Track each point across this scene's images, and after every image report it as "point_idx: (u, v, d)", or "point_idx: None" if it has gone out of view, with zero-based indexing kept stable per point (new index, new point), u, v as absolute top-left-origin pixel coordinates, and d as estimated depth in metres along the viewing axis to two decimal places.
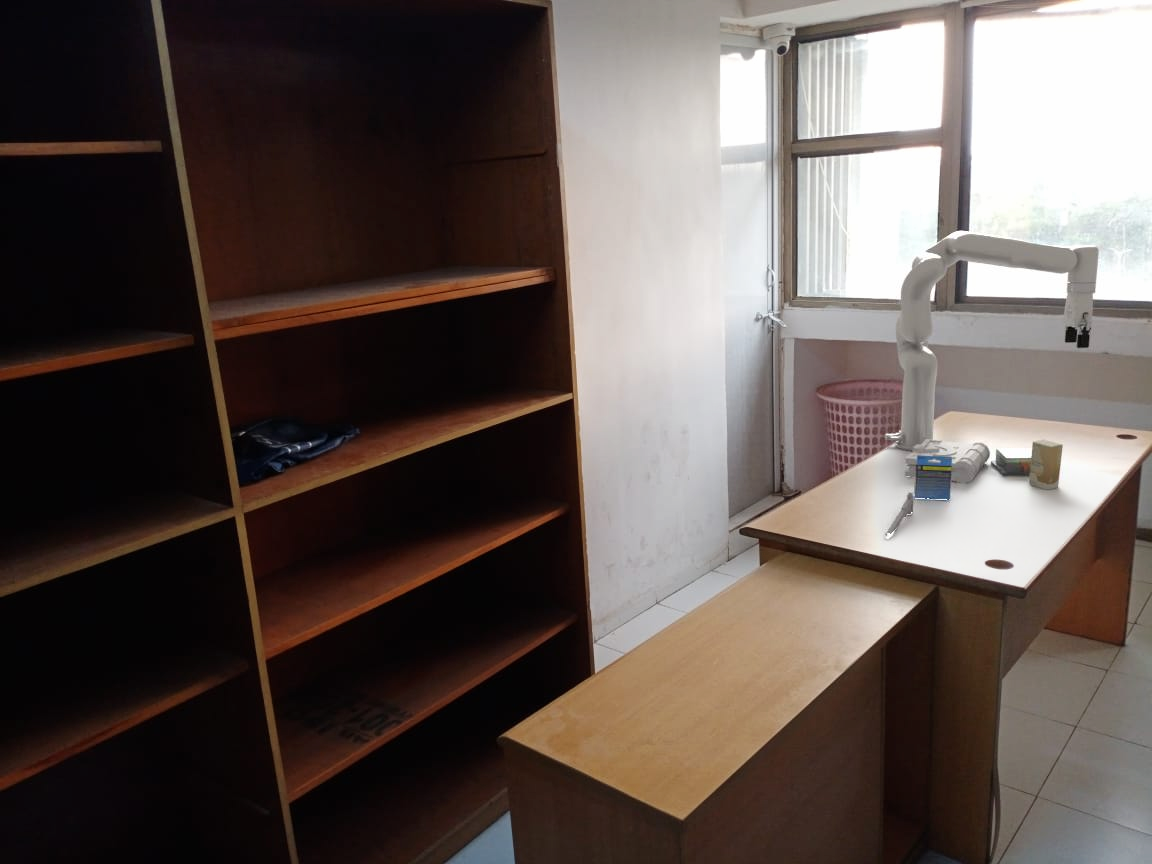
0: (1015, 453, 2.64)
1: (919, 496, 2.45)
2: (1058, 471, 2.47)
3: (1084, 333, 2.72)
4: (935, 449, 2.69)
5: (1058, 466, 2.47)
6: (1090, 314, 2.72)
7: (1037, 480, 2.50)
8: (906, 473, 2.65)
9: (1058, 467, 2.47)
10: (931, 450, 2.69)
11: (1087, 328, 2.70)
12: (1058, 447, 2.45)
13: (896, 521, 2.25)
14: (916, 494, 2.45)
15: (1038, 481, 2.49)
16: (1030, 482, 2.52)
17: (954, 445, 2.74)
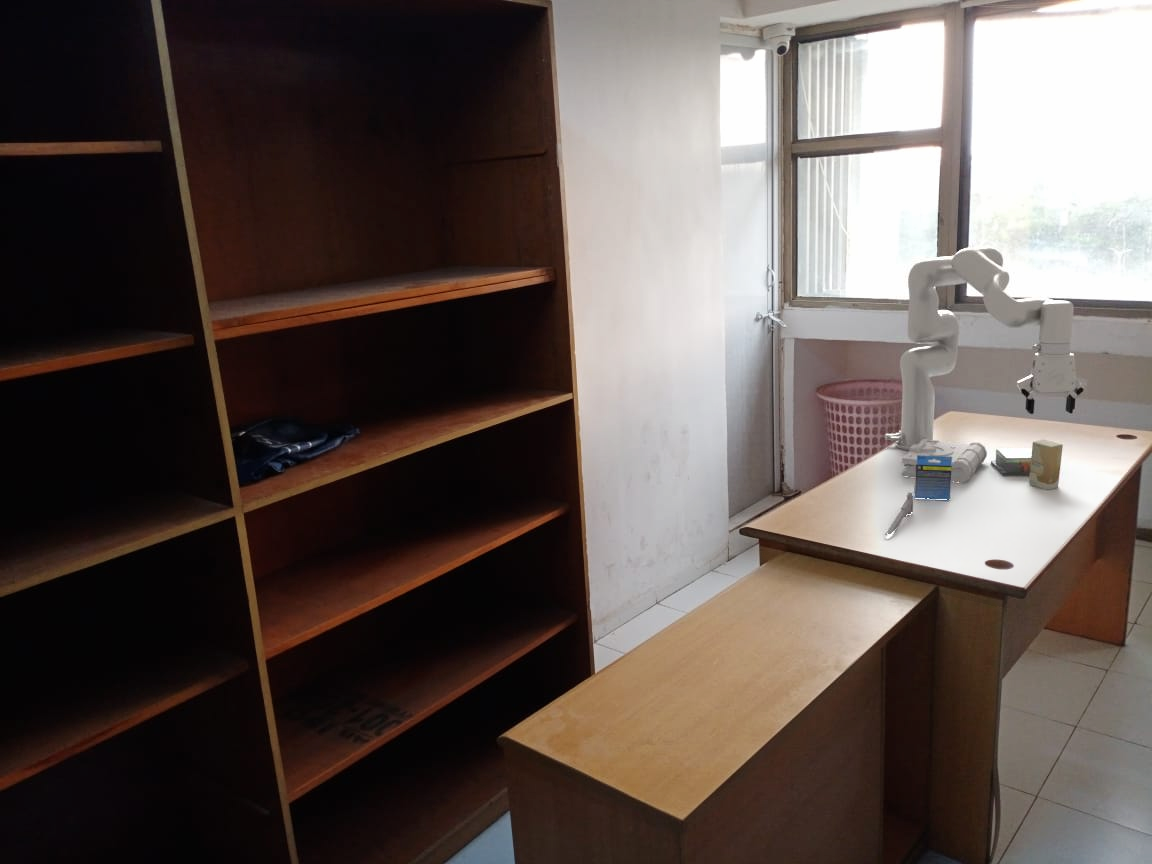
0: (1015, 453, 2.64)
1: (919, 496, 2.45)
2: (1058, 471, 2.47)
3: None
4: (932, 449, 2.69)
5: (1058, 466, 2.47)
6: None
7: (1037, 480, 2.50)
8: (903, 473, 2.65)
9: (1058, 467, 2.47)
10: (928, 450, 2.69)
11: None
12: (1058, 447, 2.45)
13: (896, 521, 2.25)
14: (916, 494, 2.45)
15: (1038, 481, 2.49)
16: (1030, 482, 2.52)
17: (951, 445, 2.74)
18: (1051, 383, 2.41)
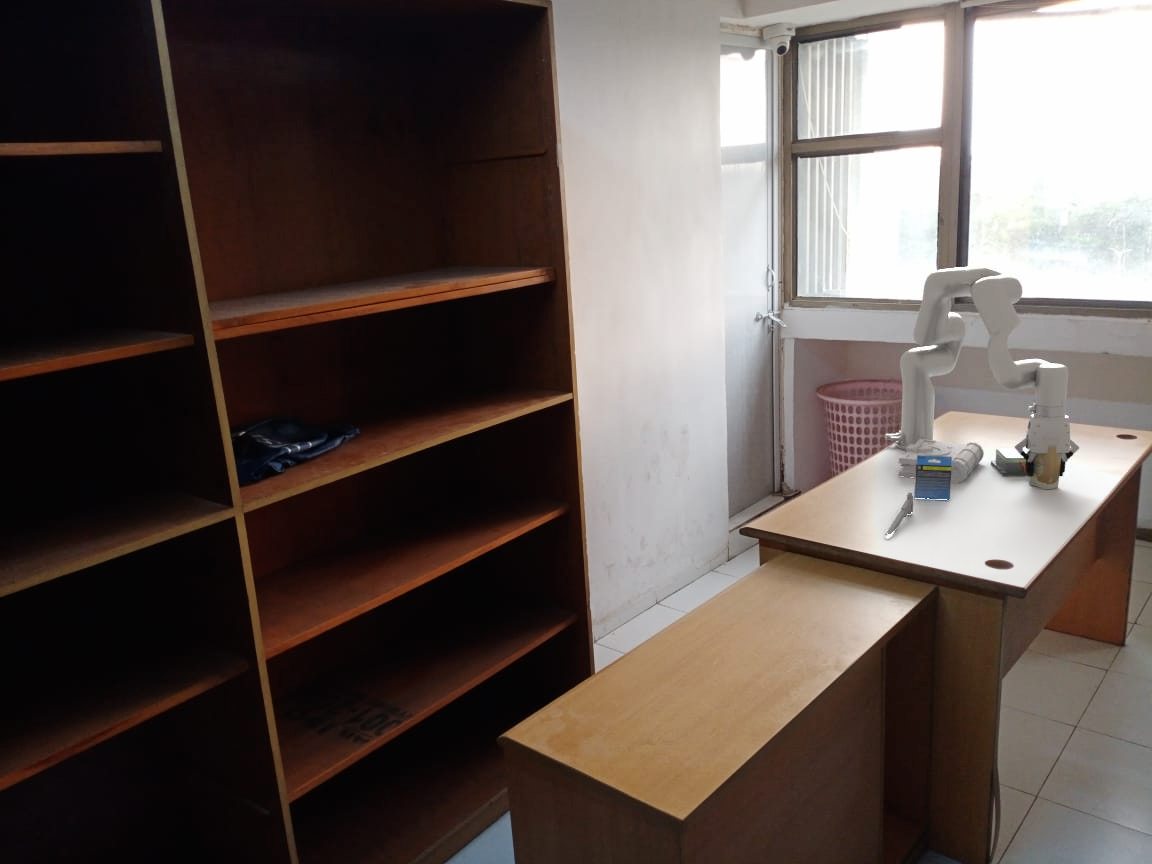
0: (1015, 453, 2.64)
1: (919, 496, 2.45)
2: (1058, 471, 2.47)
3: None
4: (929, 449, 2.69)
5: (1058, 466, 2.47)
6: None
7: (1037, 480, 2.50)
8: (900, 473, 2.65)
9: (1058, 467, 2.47)
10: (925, 450, 2.69)
11: None
12: None
13: (896, 522, 2.24)
14: (916, 494, 2.45)
15: (1038, 481, 2.49)
16: (1030, 482, 2.52)
17: (947, 445, 2.74)
18: (1046, 445, 2.45)
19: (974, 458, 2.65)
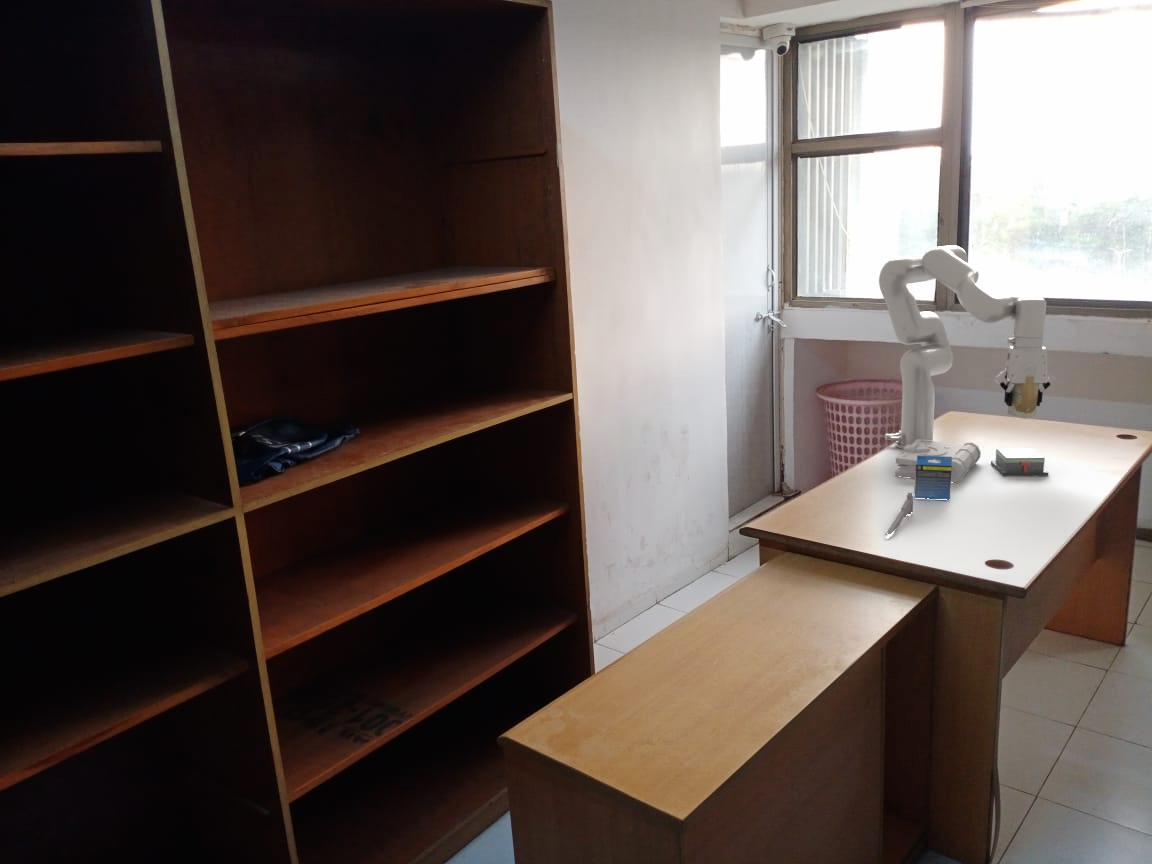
0: (1015, 453, 2.64)
1: (919, 496, 2.45)
2: (1035, 401, 2.58)
3: None
4: (926, 449, 2.69)
5: (1035, 396, 2.58)
6: None
7: (1015, 410, 2.60)
8: (896, 473, 2.65)
9: (1035, 396, 2.58)
10: (922, 450, 2.69)
11: None
12: None
13: (896, 522, 2.24)
14: (916, 494, 2.45)
15: (1016, 410, 2.60)
16: (1008, 412, 2.63)
17: (944, 446, 2.74)
18: (1024, 375, 2.56)
19: (971, 458, 2.65)
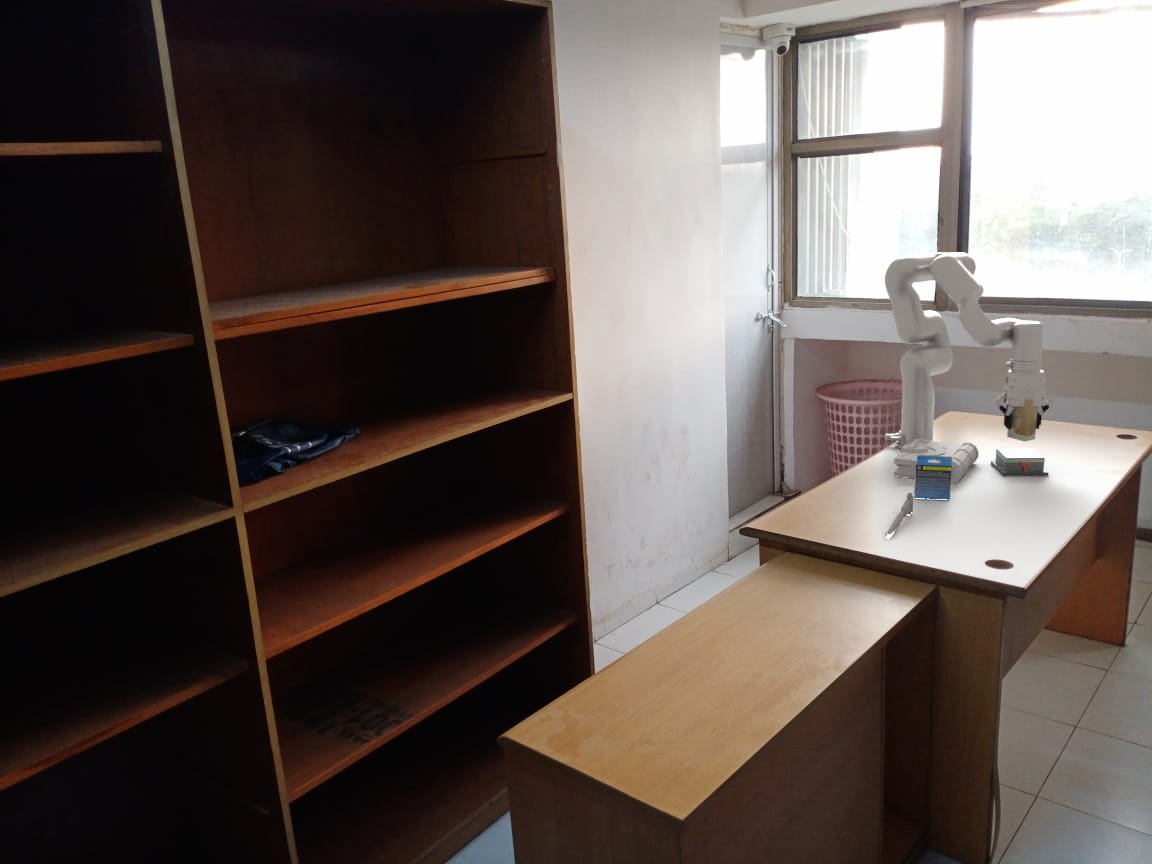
0: (1015, 453, 2.64)
1: (919, 496, 2.45)
2: (1035, 423, 2.60)
3: None
4: (924, 449, 2.69)
5: (1035, 419, 2.59)
6: None
7: (1015, 433, 2.62)
8: (895, 473, 2.65)
9: (1034, 419, 2.59)
10: (920, 450, 2.69)
11: None
12: None
13: (896, 522, 2.24)
14: (916, 494, 2.45)
15: (1016, 433, 2.62)
16: (1008, 435, 2.64)
17: (943, 446, 2.74)
18: (1023, 398, 2.57)
19: (969, 458, 2.65)
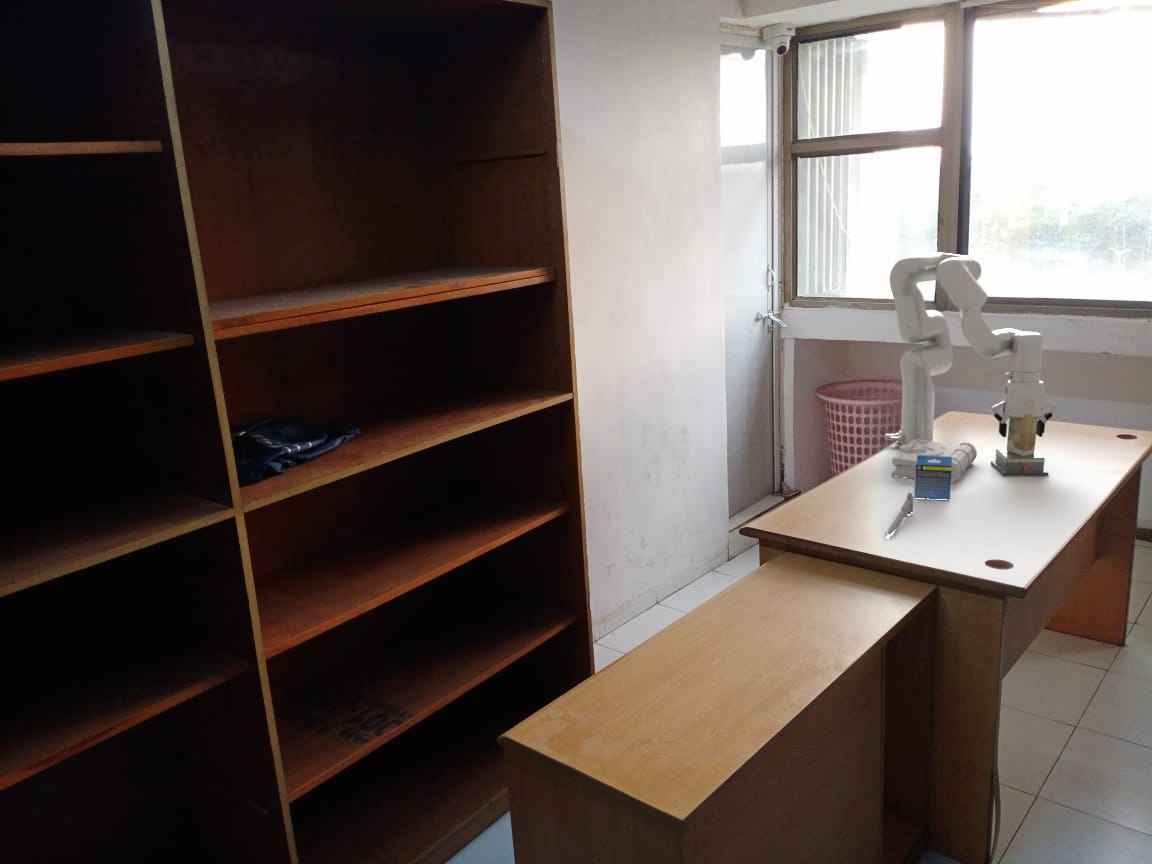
0: None
1: (919, 496, 2.45)
2: (1034, 438, 2.61)
3: None
4: (922, 449, 2.69)
5: (1034, 433, 2.60)
6: None
7: (1014, 447, 2.63)
8: (893, 473, 2.65)
9: (1033, 434, 2.60)
10: (918, 450, 2.69)
11: None
12: None
13: (896, 522, 2.24)
14: (916, 494, 2.45)
15: (1015, 447, 2.63)
16: (1007, 449, 2.66)
17: (941, 446, 2.74)
18: (1022, 409, 2.58)
19: (967, 458, 2.65)
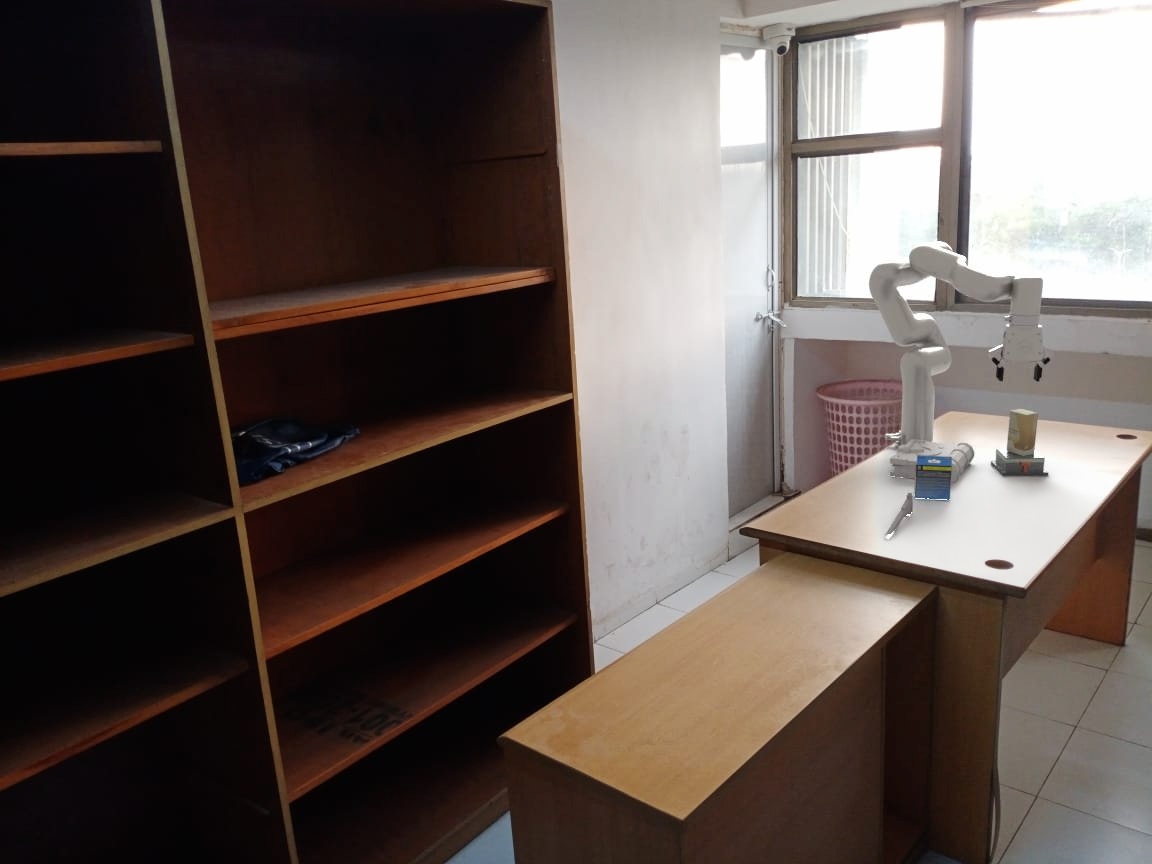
0: None
1: (919, 496, 2.45)
2: (1034, 438, 2.61)
3: None
4: (920, 449, 2.70)
5: (1034, 433, 2.60)
6: None
7: (1014, 447, 2.63)
8: (891, 473, 2.65)
9: (1033, 434, 2.60)
10: (916, 450, 2.70)
11: None
12: (1033, 415, 2.59)
13: (896, 522, 2.24)
14: (916, 494, 2.45)
15: (1015, 447, 2.63)
16: (1007, 449, 2.66)
17: (938, 446, 2.74)
18: (1020, 353, 2.58)
19: (965, 458, 2.65)
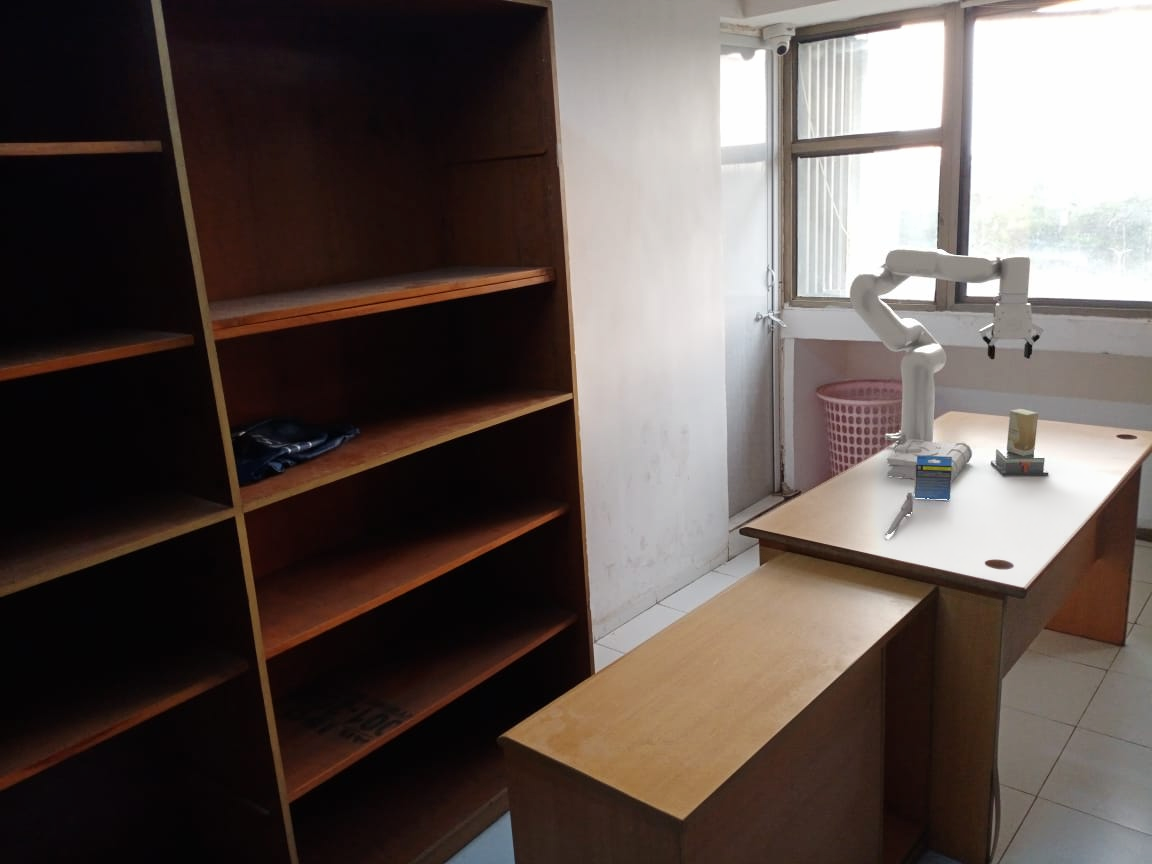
0: None
1: (919, 496, 2.45)
2: (1034, 438, 2.61)
3: None
4: (917, 449, 2.70)
5: (1034, 433, 2.60)
6: None
7: (1014, 447, 2.63)
8: (888, 473, 2.65)
9: (1033, 434, 2.60)
10: (913, 450, 2.70)
11: None
12: (1033, 415, 2.59)
13: (896, 522, 2.24)
14: (916, 494, 2.45)
15: (1015, 447, 2.63)
16: (1007, 449, 2.66)
17: (936, 446, 2.74)
18: (1010, 330, 2.65)
19: (962, 458, 2.65)
